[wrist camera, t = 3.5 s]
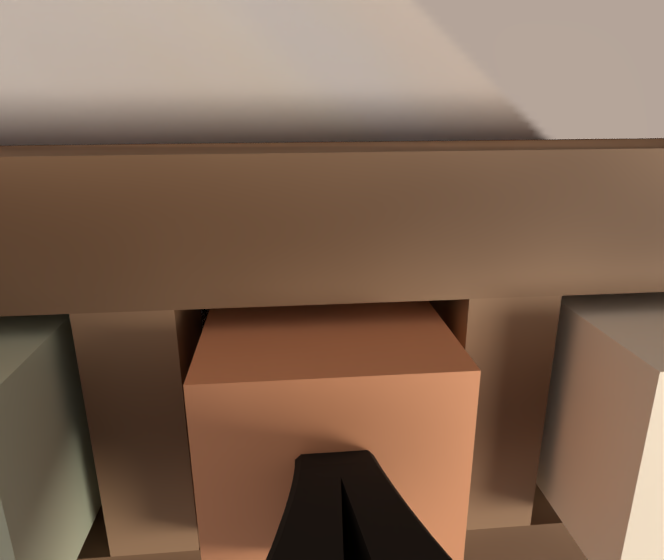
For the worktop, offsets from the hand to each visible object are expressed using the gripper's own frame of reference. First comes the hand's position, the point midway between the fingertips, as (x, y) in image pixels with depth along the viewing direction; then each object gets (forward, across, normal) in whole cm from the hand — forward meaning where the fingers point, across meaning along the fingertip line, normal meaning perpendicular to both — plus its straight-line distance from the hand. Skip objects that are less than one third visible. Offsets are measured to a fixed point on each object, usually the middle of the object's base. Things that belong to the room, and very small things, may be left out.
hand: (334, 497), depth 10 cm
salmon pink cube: (+4, 0, 0) cm, 4 cm away
